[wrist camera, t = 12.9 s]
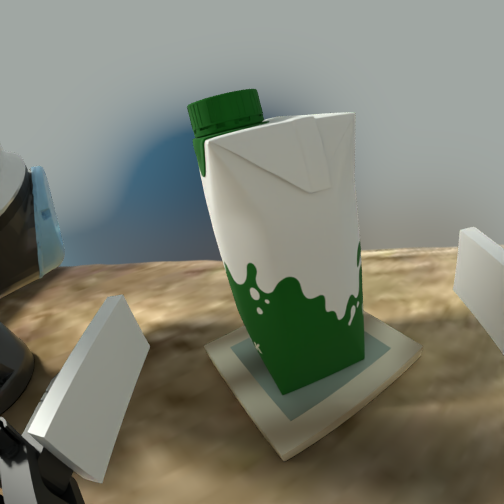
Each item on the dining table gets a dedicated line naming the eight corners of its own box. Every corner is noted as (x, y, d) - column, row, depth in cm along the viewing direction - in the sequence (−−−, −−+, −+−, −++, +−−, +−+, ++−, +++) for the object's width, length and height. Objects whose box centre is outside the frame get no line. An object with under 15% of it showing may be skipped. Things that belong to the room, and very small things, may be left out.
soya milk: (244, 338, 27) (177, 113, 19) (331, 305, 29) (297, 88, 20) (275, 409, 20) (184, 97, 11) (382, 360, 21) (366, 71, 12)
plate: (207, 354, 28) (203, 345, 28) (320, 293, 33) (319, 284, 32) (283, 461, 16) (281, 455, 16) (421, 355, 21) (423, 345, 21)
